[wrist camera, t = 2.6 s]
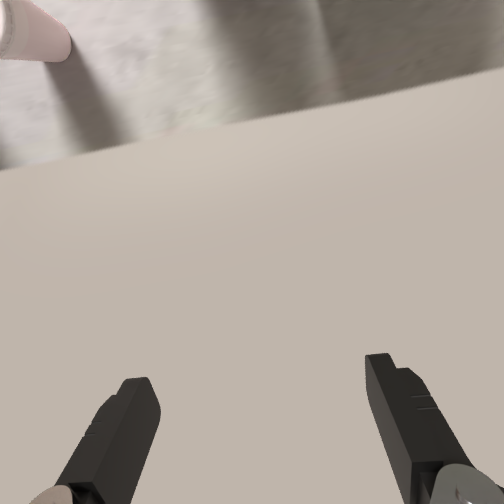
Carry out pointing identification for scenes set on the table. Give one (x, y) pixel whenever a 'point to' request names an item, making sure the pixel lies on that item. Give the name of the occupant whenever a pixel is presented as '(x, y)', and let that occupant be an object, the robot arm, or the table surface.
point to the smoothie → (31, 33)
